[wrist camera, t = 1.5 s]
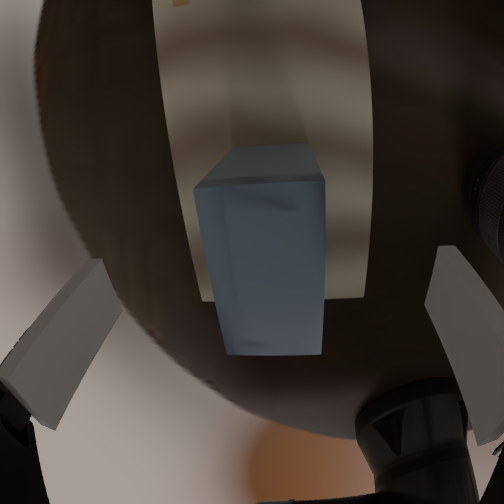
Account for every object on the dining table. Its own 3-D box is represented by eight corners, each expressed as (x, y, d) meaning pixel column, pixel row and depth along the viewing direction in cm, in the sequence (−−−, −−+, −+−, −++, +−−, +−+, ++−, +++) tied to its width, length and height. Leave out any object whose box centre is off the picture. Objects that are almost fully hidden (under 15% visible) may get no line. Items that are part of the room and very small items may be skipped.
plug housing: (312, 264, 20) (321, 354, 13) (247, 266, 21) (226, 354, 14) (308, 142, 16) (325, 180, 9) (232, 148, 17) (192, 188, 10)
